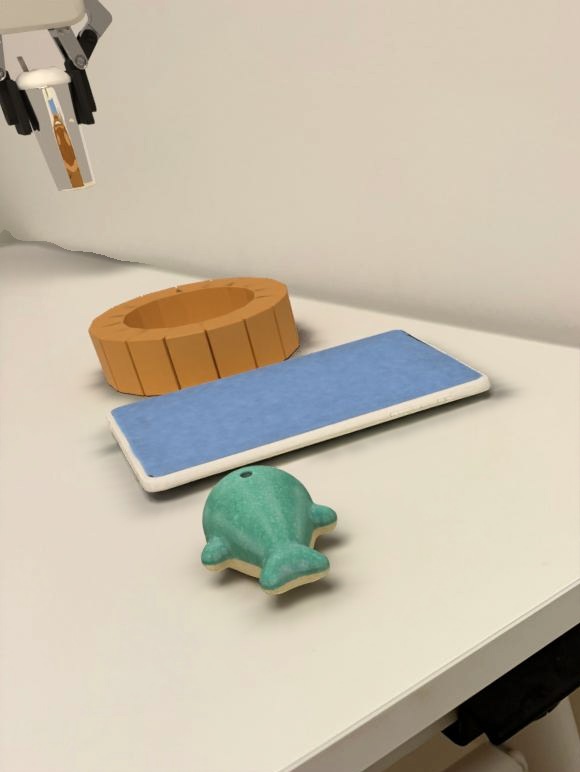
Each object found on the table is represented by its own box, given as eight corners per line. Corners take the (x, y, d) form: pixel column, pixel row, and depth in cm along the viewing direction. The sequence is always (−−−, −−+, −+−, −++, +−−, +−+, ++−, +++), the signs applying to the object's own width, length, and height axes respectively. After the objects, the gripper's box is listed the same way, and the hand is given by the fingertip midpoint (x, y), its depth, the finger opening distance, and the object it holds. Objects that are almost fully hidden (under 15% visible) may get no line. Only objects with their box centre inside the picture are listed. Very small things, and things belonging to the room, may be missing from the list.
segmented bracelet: (86, 365, 65) (67, 316, 62) (254, 315, 70) (242, 267, 68) (142, 412, 55) (122, 355, 53) (331, 350, 61) (319, 296, 59)
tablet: (405, 343, 60) (402, 322, 59) (499, 396, 50) (496, 372, 50) (109, 430, 54) (101, 409, 53) (152, 509, 44) (143, 484, 43)
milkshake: (86, 180, 84) (44, 52, 79) (112, 183, 81) (71, 50, 75) (39, 190, 82) (-8, 60, 76) (63, 194, 79) (17, 58, 73)
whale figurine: (319, 511, 42) (299, 434, 40) (373, 582, 36) (353, 496, 34) (194, 551, 40) (165, 473, 38) (230, 632, 35) (200, 545, 32)
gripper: (67, -145, 74) (138, 111, 85) (-163, -134, 67) (-54, 143, 78) (92, -161, 69) (164, 114, 80) (-155, -151, 62) (-40, 149, 73)
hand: (55, 126), depth 79 cm, fingers closed on milkshake, 4 cm apart
